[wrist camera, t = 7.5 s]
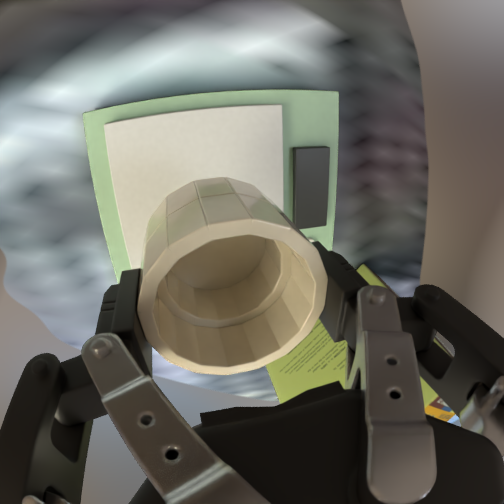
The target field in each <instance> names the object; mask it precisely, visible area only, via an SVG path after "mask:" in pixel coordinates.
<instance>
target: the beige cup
mask: <svg viewBox="0 0 504 504" xmlns="http://www.w3.org/2000/svg"><path fill="white" fill-rule="evenodd" d="M327 283H328V276H327V273H326V270H325V268H324V265H323V262H322V259H321V257H320V254H319V251H318V250H317V248H316V247H315V246H314V245H313V244H312V243H311V242H310V241H309V240H308V238H307V237H306V236H305V235H304V234H303V233H302V232H301V231H300V230H299V229H298V228H297V226H296V225H295V224H294V223H293V222H292V221H291V220H290V219H289V218H288V217H287V216H286V215H285V214H284V213H283V212H282V211H281V209H280V208H279V207H278V206H277V205H276V204H275V203H274V202H273V201H272V200H271V199H270V198H268V197H267V196H266V195H265V194H264V193H263V192H261V191H260V190H259V189H258V188H257V187H255V186H254V185H252V184H250V183H246V182H243V181H239V180H236V179H232V178H228V177H225V178H224V177H216V178H208V179H201V180H195V181H191V182H190V183H188V184H186V185H184V186H182V187H181V188H179V189H177V190H176V191H174V192H172V193H170V194H169V195H167V197H165V198H164V200H163V201H162V202H161V204H160V205H159V206H158V208H157V209H156V210H155V212H154V213H153V214H152V216H151V217H150V219H149V221H148V224H147V228H146V233H145V237H144V242H143V248H142V257H141V267H140V276H139V287H138V299H137V315H138V318H139V321H140V324H141V327H142V330H143V333H144V335H145V338H146V340H147V342H148V343H149V344H150V345H151V346H152V347H153V348H154V349H155V350H156V351H157V352H158V353H159V354H160V355H161V356H162V357H164V358H165V359H166V360H167V361H169V362H170V363H172V364H175V365H177V366H180V367H182V368H185V369H187V370H190V371H192V372H195V373H202V374H216V375H227V374H228V375H231V374H236V373H241V372H245V371H250V370H255V369H258V368H261V367H263V366H265V365H267V364H269V363H271V362H273V361H275V360H277V359H279V358H281V357H283V356H285V355H286V354H288V353H289V352H290V351H291V350H292V349H293V348H294V347H296V346H297V345H298V344H299V343H300V342H301V341H302V340H303V339H304V338H305V337H306V336H307V335H309V333H310V332H311V330H312V329H313V327H314V325H315V323H316V322H317V320H318V318H319V316H320V315H321V313H322V311H323V309H324V306H325V299H326V291H327Z"/></svg>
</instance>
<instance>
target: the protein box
mask: <svg viewBox="0 0 504 504" xmlns="http://www.w3.org/2000/svg"><path fill="white" fill-rule="evenodd" d="M357 272H358V273H359V274H360V275H361V276H362V277H363V278H364V279H365V280H366V281H367V282H368V283H369V284H370V285H378V286H382V287H385V288H387V289H389V290H390V291H392V292H393V293H394V295H395V297H397V298H399V296H398V295H397V294H396V293H395V292H394V291H393V290H392V289H391V288H390V287H389V286H388V285H387V284H386V283H385V282H384V281H383V280H382V279H381V278H380V277H379V276H377V275H376V274H375V273H374V272H373V271H372V270H371V269H370V268H368V267H367V266H366V265H365V264H362V265H361V266H360V267H359V268H358V269H357ZM433 341H434V342H435V343H437V344H438V345H439V346H440V347H441V348H442V349H443V350H444V351H445V352H446V353H447V354H448V355H449V356H451V357H452V358H454V355H453V354H452V353H451V352H450V351H449V349H448V348H447V347H446V346H445V345H444V344H443V343H442V341H441V340H440V339H439V338H438V337H437V336H435V338H434V340H433ZM346 347H347V342H346V340H343V341H340V342H336V343H334V341H333V340H332V338H331V337H330V335H329V333H328V332H327V330H326V329H325V327H324V326H323V324H322V323H321V321H320V319H319V318H318V320H317V322H316V323H315V325H314V327H313V329H312V330H311V332H310V333H309V335H307V336H306V337H305V338H304V339H303V340H302V341H301V342H300V343H299V344H298V345H297V346H296V347H294V348H293V349H292V350H291V351H290V352H289V353H288V354H286V355H285V356H283V357H281V358H279V359H277V360H275V361H273V362H271V363H269V364H267V365H266V368H267V370H268V373H269V376H270V378H271V381H272V383H273V386H274V388H275V391H276V394H277V396H278V399H279V401H280V404H281V403H283V402H285V401H287V400H289V399H291V398H293V397H295V396H297V395H299V394H301V393H302V392H304V391H306V390H308V389H312V388H315V387H319V386H322V385H325V384H329V383H332V382H335V381H338V380H339V381H340V383H341V385H342V386H343V388H345V363H346ZM420 380H421V386H422V392H423V399H424V407H425V414H428V415H430V416H433V417H435V418H438V419H441V420H443V421H446V422H447V421H448V420H449V419H450V418H452V417H453V416H454V415H455V413H454V412H453V411H452V410H451V408H450V407H449V406H448V405H447V404H446V403H445V402H444V401H443V400H442V399H441V398H440V397H439V396H438V395H437V394H436V392H435V391H434V390H433V389H432V388H431V387H430V386H429V385H428V384H427V383H426V382H425V381H424V380H423V379H422V378H421V377H420Z"/></svg>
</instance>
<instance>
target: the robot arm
mask: <svg viewBox="0 0 504 504" xmlns="http://www.w3.org/2000/svg"><path fill="white" fill-rule="evenodd" d="M311 243H312V244H313V245H314V246H315V247H316V248H317V250H318V251H319V254H320V257H321V259H322V262H323V265H324V268H325V270H326V273H327V276H328V283H327V291H326V299H325V306H324V309H323V311H322V313H321V315H320V316H319V319H320V321H321V323H322V324H323V326H324V327H325V329H326V330H327V332H328V333H329V335H330V337H331V338H332V340H333V341H334V343H336V342H340V341H343V340H346V342H347V347H346V363H345V388H343V386H342V385H341V383H340V381H339V380H338V381H335V382H332V383H329V384H325V385H322V386H319V387H315V388H312V389H308V390H306V391H304V392H302V393H301V394H299V395H297V396H295V397H293V398H291V399H289V400H287V401H285V402H283V403H281V404H279V405H277V406H274V407H233V408H228V409H222V410H217V411H211V412H205V413H200V417H201V422H202V423H201V424H199V425H196V426H194V427H192V428H191V427H190V425H189V424H188V423H187V422H186V421H185V419H184V418H183V417H182V416H181V415H180V413H179V412H178V411H177V410H176V409H175V407H174V406H173V405H172V404H171V402H170V401H169V400H168V399H167V397H166V396H165V395H164V394H163V392H162V391H161V390H160V388H159V387H158V386H157V384H156V383H155V382H154V380H153V379H152V346H151V345H150V344H149V343H148V342H147V340H146V338H145V335H144V333H143V330H142V327H141V324H140V321H139V318H138V315H137V299H138V287H139V276H140V268H137V269H131V270H124V271H122V273H121V277H120V282H119V284H117V285H111V286H110V288H109V289H108V290H107V291H106V292H105V294H104V297H103V302H102V306H101V312H100V314H99V319H98V323H97V328H96V333H95V336H93V337H91V338H90V339H88V340H87V341H86V342H85V344H84V345H83V347H82V350H81V355H79V356H77V357H75V358H72V359H69V360H66V361H64V362H61V363H60V361H59V360H58V358H57V357H56V356H55V355H53V354H50V353H44V354H40V355H37V356H35V357H34V358H33V359H31V360H30V361H29V362H28V363H27V365H26V366H25V368H24V371H23V373H22V375H21V378H20V380H19V382H18V385H17V387H16V389H15V392H14V394H13V397H12V399H11V402H10V405H9V407H8V410H7V413H6V415H5V418H4V421H3V424H2V427H1V429H0V504H80V502H81V493H82V486H83V478H84V471H85V464H86V458H87V451H88V446H89V441H90V435H91V430H92V425H93V419H95V418H98V417H101V416H104V415H106V414H109V416H110V418H111V420H112V422H113V423H114V425H115V427H116V429H117V430H118V432H119V434H120V435H121V437H122V439H123V440H124V442H125V444H126V445H127V447H128V449H129V450H130V452H131V453H132V455H133V456H134V458H135V459H136V461H137V463H138V464H139V466H140V467H141V469H142V470H143V472H144V473H145V474H146V476H147V478H146V480H145V481H144V483H143V484H142V486H141V487H140V488H139V490H138V491H137V493H136V494H135V496H134V497H133V498H132V500H131V501H130V502H129V504H504V461H503V458H502V457H503V456H504V338H502V337H501V336H500V335H499V334H498V333H497V332H495V331H494V330H493V329H492V328H491V327H489V326H488V325H487V324H486V323H485V322H483V321H482V320H481V319H480V318H478V317H477V316H476V315H475V314H473V313H472V312H471V311H470V310H468V309H467V308H466V307H464V306H463V305H462V304H460V303H459V302H458V301H457V300H456V299H454V298H453V297H452V296H450V295H449V294H448V293H446V292H445V291H444V290H442V289H441V288H439V287H436V286H434V285H427V284H426V285H420V286H418V287H417V288H416V289H415V292H414V296H413V297H399V298H397V297H395V295H394V293H393V292H392V291H390V290H389V289H387V288H385V287H382V286H378V285H370V284H369V283H368V282H367V281H366V280H365V279H364V278H363V277H362V276H361V275H360V274H359V273H358V272H357V271H356V270H355V269H354V268H353V267H352V266H351V265H350V264H348V261H347V260H346V259H345V258H344V257H343V256H341V255H339V254H337V253H335V252H333V251H328V250H327V249H326V248H325V247H324V246H323V245H322V244H321V243H320V242H319V241H314V242H311ZM437 331H438V332H439V333H440V334H441V335H442V336H444V337H445V338H446V339H447V340H448V341H449V342H450V343H451V344H452V345H453V347H454V349H455V356H454V358H452V357H451V356H449V355H448V354H447V353H446V352H445V351H444V350H443V349H442V348H441V347H440V346H439V345H438V344H437V343H435V342H434V341H433V340H434V338H435V336H436V333H437ZM420 377H421V378H422V379H423V380H424V381H425V382H426V383H427V384H428V385H429V386H430V387H431V388H432V389H433V390H434V391H435V392H436V394H437V395H438V396H439V397H440V398H441V399H442V400H443V401H444V402H445V403H446V404H447V405H448V406H449V407H450V408H451V410H452V411H453V412H454V413H455V414H456V415H457V416H458V417H459V418H460V423H461V427H459V426H456V425H454V424H451V423H448V422H446V421H443V420H441V419H438V418H435V417H433V416H430V415H428V414H425V407H424V399H423V392H422V386H421V380H420Z"/></svg>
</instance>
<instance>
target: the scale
mask: <svg viewBox="0 0 504 504" xmlns="http://www.w3.org/2000/svg"><path fill="white" fill-rule="evenodd" d="M83 121H84V129H85V137H86V144H87V150H88V157H89V163H90V168H91V174H92V179H93V185H94V190H95V195H96V199H97V204H98V209H99V213H100V217H101V222H102V226H103V230H104V234H105V238H106V242H107V246H108V249H109V253H110V257H111V260H112V264H113V267H114V271H115V274H116V278H117V281H118V284H119V282H120V277H121V273H122V271H124V270H131V269H137V268H140V267H141V257H142V248H143V242H144V237H145V233H146V228H147V224H148V221H149V219H150V217H151V216H152V214H153V213H154V212H155V210H156V209H157V208H158V206H159V205H160V204H161V202H162V201H163V200H164V198H165V197H167V195H169V194H170V193H172V192H174V191H176V190H177V189H179V188H181V187H182V186H184V185H186V184H188V183H190V182H191V181H195V180H201V179H208V178H216V177H224V178H225V177H228V178H232V179H236V180H239V181H243V182H246V183H250V184H252V185H254V186H255V187H257V188H258V189H259V190H260V191H261V192H263V193H264V194H265V195H266V196H267V197H268V198H270V199H271V200H272V201H273V202H274V203H275V204H276V205H277V206H278V207H279V208H280V209H281V211H282V212H283V213H284V214H285V215H286V216H287V217H288V218H289V219H290V220H291V221H292V222H293V223H294V224H295V225H296V226H297V228H298V229H299V230H300V231H301V232H302V233H303V234H304V235H305V236H306V237H307V238H308V240H309V241H310V242H314V241H319V242H320V243H321V244H322V245H323V246H324V247H325V248H326V249H327V250H328V251H332V244H333V232H334V220H335V205H336V188H337V167H338V135H339V92H338V91H323V90H291V89H269V90H238V91H221V92H208V93H197V94H188V95H179V96H171V97H164V98H157V99H150V100H144V101H138V102H132V103H127V104H122V105H117V106H112V107H107V108H102V109H98V110H93V111H89V112H85V113H83Z"/></svg>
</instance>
